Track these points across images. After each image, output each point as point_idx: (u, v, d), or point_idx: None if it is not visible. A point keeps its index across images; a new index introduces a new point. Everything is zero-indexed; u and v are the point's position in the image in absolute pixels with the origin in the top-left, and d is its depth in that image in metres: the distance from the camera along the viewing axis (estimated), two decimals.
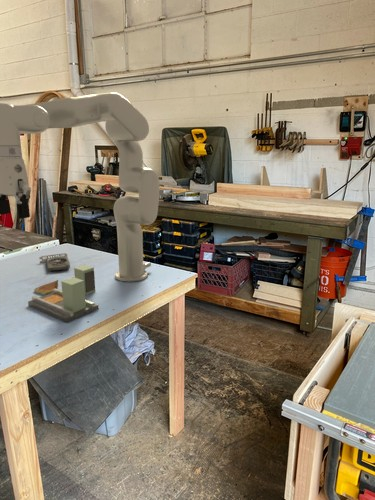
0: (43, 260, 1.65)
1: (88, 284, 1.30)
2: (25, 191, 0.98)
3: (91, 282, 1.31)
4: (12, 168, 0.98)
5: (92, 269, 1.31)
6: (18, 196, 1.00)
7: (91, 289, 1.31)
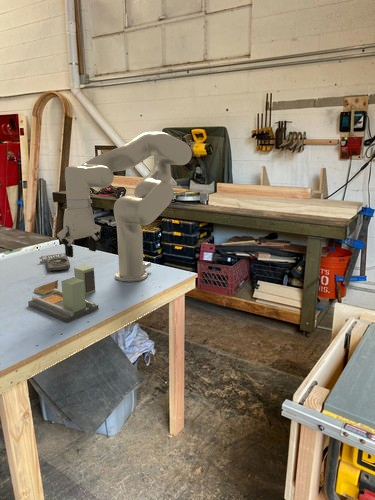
0: (43, 260, 1.65)
1: (88, 284, 1.30)
2: (99, 229, 1.33)
3: (91, 282, 1.31)
4: None
5: (92, 269, 1.31)
6: (94, 234, 1.31)
7: (91, 289, 1.31)
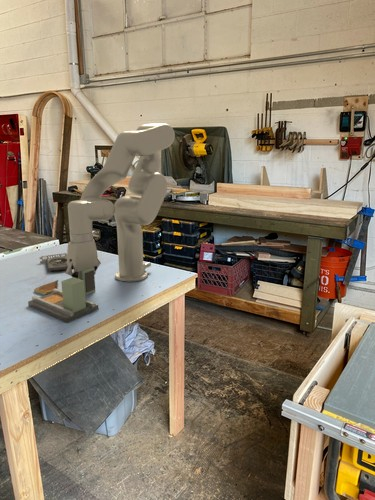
0: (43, 260, 1.65)
1: (88, 284, 1.30)
2: (98, 264, 1.36)
3: (91, 282, 1.31)
4: None
5: (92, 269, 1.31)
6: (94, 269, 1.33)
7: (91, 289, 1.31)
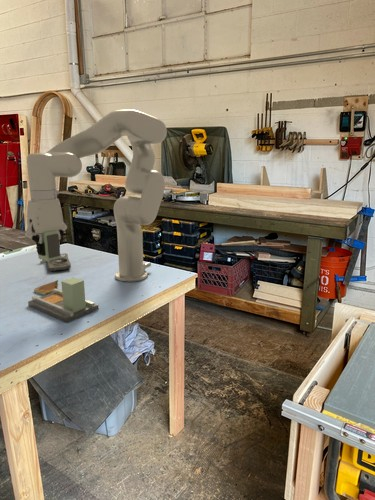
0: (43, 260, 1.65)
1: (51, 248, 1.15)
2: (65, 228, 1.21)
3: (55, 247, 1.16)
4: None
5: (56, 232, 1.17)
6: None
7: (55, 255, 1.17)
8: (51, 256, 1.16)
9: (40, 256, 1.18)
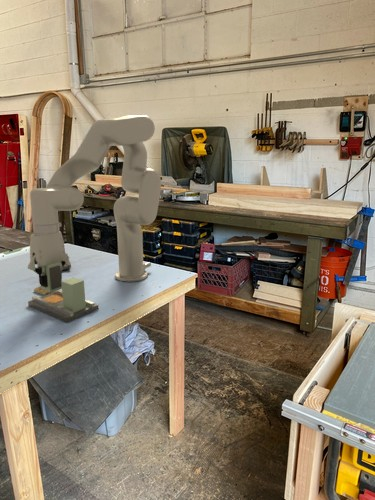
0: None
1: (53, 280, 1.18)
2: (66, 259, 1.24)
3: (57, 278, 1.19)
4: None
5: (58, 264, 1.19)
6: None
7: (57, 286, 1.20)
8: (53, 287, 1.19)
9: (42, 287, 1.20)
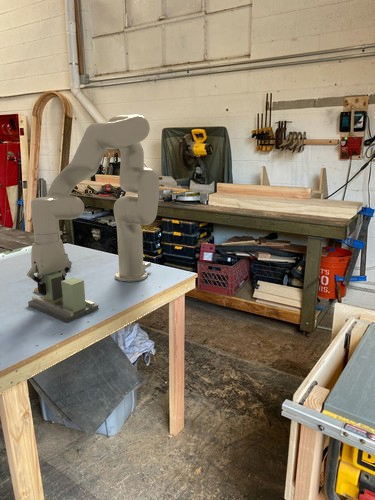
0: None
1: (55, 291, 1.19)
2: (69, 264, 1.25)
3: (59, 289, 1.20)
4: None
5: (60, 275, 1.21)
6: (64, 270, 1.23)
7: (59, 296, 1.21)
8: (55, 298, 1.20)
9: (45, 297, 1.22)
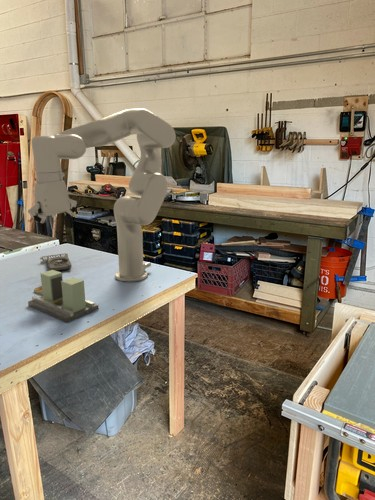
0: (44, 260, 1.65)
1: (55, 291, 1.19)
2: (75, 204, 1.25)
3: (59, 289, 1.20)
4: None
5: (60, 275, 1.21)
6: (70, 210, 1.23)
7: (59, 296, 1.21)
8: (55, 298, 1.20)
9: (45, 297, 1.22)
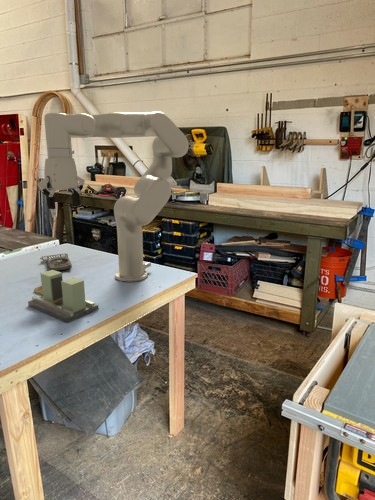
0: (44, 260, 1.64)
1: (55, 291, 1.19)
2: (83, 182, 1.29)
3: (59, 289, 1.20)
4: None
5: (60, 275, 1.21)
6: (77, 187, 1.27)
7: (59, 296, 1.21)
8: (55, 298, 1.20)
9: (45, 297, 1.22)
